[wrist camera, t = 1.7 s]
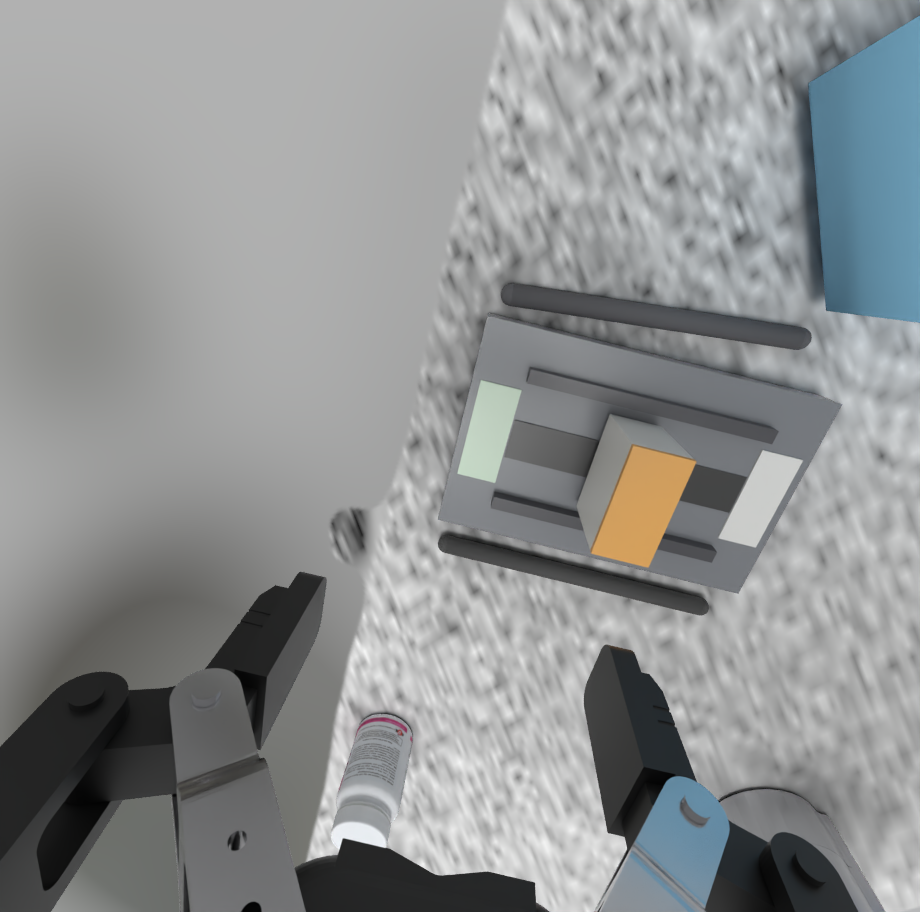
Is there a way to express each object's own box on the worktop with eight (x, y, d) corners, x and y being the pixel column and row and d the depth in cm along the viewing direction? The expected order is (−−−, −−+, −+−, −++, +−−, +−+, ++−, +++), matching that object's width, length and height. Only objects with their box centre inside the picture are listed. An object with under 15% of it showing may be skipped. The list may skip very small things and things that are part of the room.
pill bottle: (348, 720, 41) (311, 826, 33) (396, 705, 40) (370, 811, 32) (375, 757, 42) (346, 868, 35) (423, 744, 41) (404, 855, 34)
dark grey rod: (707, 595, 34) (714, 607, 33) (700, 609, 34) (707, 620, 33) (441, 530, 34) (439, 539, 32) (437, 544, 34) (435, 553, 33)
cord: (807, 328, 27) (820, 330, 26) (798, 349, 27) (811, 352, 26) (503, 281, 27) (503, 282, 26) (499, 303, 28) (499, 304, 27)
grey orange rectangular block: (661, 426, 27) (696, 461, 22) (624, 517, 29) (648, 567, 24) (610, 413, 27) (633, 445, 22) (576, 505, 29) (591, 553, 24)
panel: (819, 395, 28) (852, 408, 26) (724, 575, 33) (743, 601, 30) (488, 312, 28) (487, 317, 25) (441, 505, 33) (436, 525, 30)
